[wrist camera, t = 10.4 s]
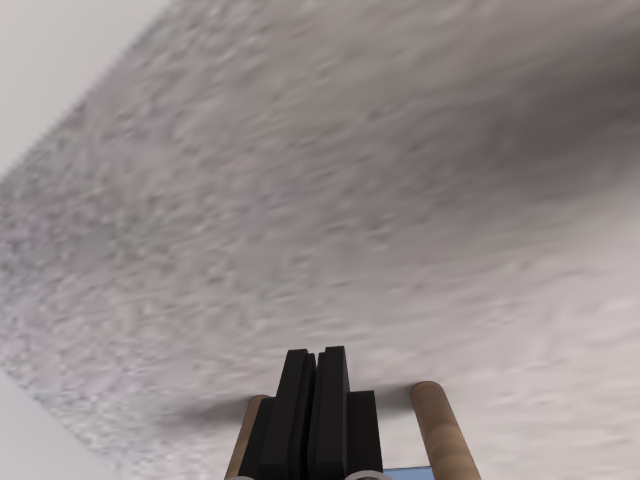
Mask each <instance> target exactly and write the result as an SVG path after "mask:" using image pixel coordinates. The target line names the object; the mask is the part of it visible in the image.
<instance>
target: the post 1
mask: <svg viewBox="0 0 640 480" xmlns="http://www.w3.org/2000/svg"><path fill="white" fill-rule="evenodd" d="M268 397H270V396H266V395H260V396H256V397H254V398H253V399H252V400H251V401H250V403H249V405H248V408H247V411H246V414H245V417H244V420H243V423H242V427H241V430H240V433H239V436H238V439H237V442H236V445H235V448H234V451H233V454H232V457H231V460H230V463H229V466H228V469H227V472H226V475H225V478H224V480H226V479H229V478H232V477H237V475H238V472H239V468H240V465H241V462H242V459H243V456H244V453H245V449H246V446H247V443H248V440H249V437H250V434H251V430H252V427H253V424H254V421H255V418H256V415H257V411H258V408H259V405H260V402H261V400H262V399H263V398H268Z"/></svg>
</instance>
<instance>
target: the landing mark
mask: <svg viewBox="0 0 640 480" xmlns="http://www.w3.org/2000/svg"><path fill="white" fill-rule="evenodd" d="M383 474H385V475H387V476H389V477H390V478H392V479H393V480H435V479H434V476H433V473H432V469H431V467H417V468H402V469H387V470H383Z"/></svg>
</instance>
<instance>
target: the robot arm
mask: <svg viewBox="0 0 640 480" xmlns="http://www.w3.org/2000/svg"><path fill="white" fill-rule="evenodd" d="M226 480H393V479H392V478H390V477H389V476H387V475H385V474H383V465H382V456H381V447H380V439H379V430H378V421H377V412H376V404H375V395H374V390H373V391H358V392H350V387H349V379H348V371H347V363H346V355H345V348H344V346H334V347H326V349H325V352H322V353H319V357H318V365H317V367H316V360H315V355H314V353H309V354H308V351H307V349H297V350H288V352H287V356H286V360H285V364H284V368H283V371H282V375H281V379H280V383H279V387H278V390H277V394H276V397H268V398H263V399H262V400H261V402H260V405H259V408H258V411H257V415H256V418H255V421H254V424H253V427H252V430H251V434H250V437H249V440H248V443H247V446H246V449H245V453H244V456H243V459H242V462H241V465H240V468H239V472H238V475H237V477H232V478H229V479H226Z"/></svg>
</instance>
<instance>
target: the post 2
mask: <svg viewBox="0 0 640 480" xmlns="http://www.w3.org/2000/svg"><path fill="white" fill-rule="evenodd" d="M411 400H412V403H413V407H414V410H415V414H416V417H417V421H418V424H419V428H420V431H421V434H422V438H423V441H424V445H425V448H426V452H427V455H428V459H429V462H430V466H431V469H432V473H433V476H434V479H435V480H482V479H481V477H480V474H479V472H478V470H477V467H476V465H475V463H474V460H473V458H472V456H471V453H470V451H469V449H468V446H467V444H466V442H465V439H464V437H463V435H462V432H461V430H460V428H459V425H458V423H457V421H456V418H455V416H454V414H453V411H452V409H451V407H450V404H449V402H448V399H447V397H446V395H445V392H444V390H443V388H442V387H441V386H440V385H439V384H437V383H435V382H431V381H426V382H422V383H419V384H418V385H416V386H415V387H414V388H413V390H412V392H411Z"/></svg>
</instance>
